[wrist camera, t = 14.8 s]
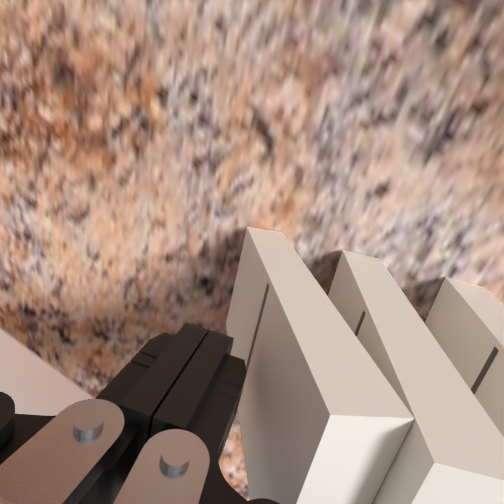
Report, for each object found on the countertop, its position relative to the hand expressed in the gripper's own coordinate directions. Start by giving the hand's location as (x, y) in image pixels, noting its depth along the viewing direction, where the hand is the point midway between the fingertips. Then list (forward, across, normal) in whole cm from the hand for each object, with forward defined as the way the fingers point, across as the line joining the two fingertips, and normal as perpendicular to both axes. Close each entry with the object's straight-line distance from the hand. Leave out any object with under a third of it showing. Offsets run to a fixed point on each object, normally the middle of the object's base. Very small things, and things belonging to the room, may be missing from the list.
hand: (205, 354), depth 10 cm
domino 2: (+6, -4, 0) cm, 7 cm away
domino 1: (+6, 0, 0) cm, 6 cm away
